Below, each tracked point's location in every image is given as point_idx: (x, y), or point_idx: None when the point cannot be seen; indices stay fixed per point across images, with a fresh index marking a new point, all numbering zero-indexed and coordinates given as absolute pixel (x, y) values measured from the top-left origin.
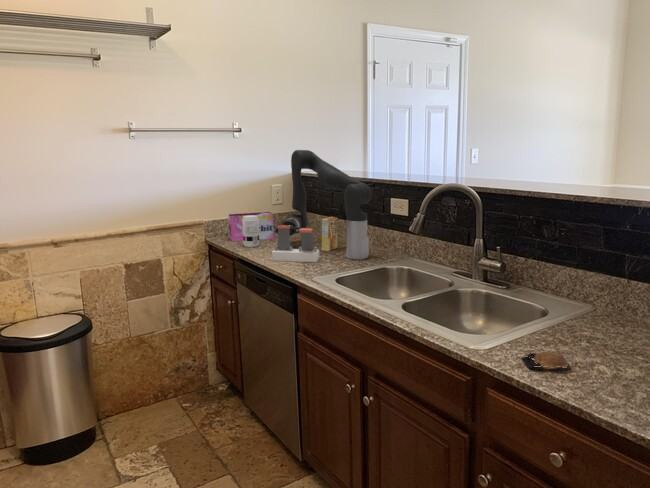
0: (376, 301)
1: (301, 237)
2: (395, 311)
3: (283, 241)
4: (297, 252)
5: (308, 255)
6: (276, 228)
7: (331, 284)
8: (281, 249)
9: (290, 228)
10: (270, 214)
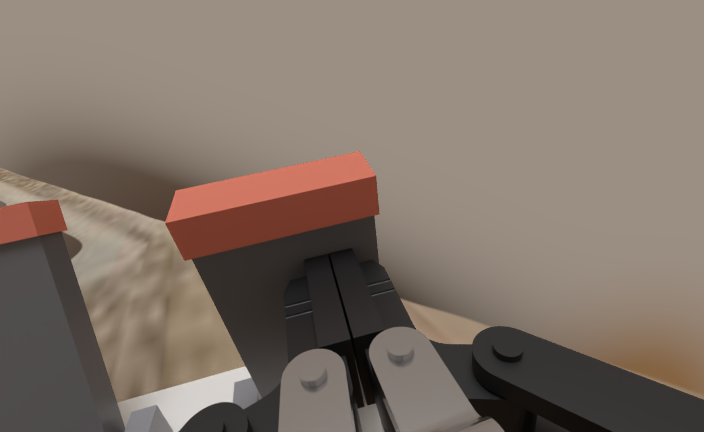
0: None
1: (76, 296)
2: (17, 202)
3: None
4: (186, 388)
5: None
6: (593, 366)
7: (92, 238)
8: None
9: (194, 429)
10: None
